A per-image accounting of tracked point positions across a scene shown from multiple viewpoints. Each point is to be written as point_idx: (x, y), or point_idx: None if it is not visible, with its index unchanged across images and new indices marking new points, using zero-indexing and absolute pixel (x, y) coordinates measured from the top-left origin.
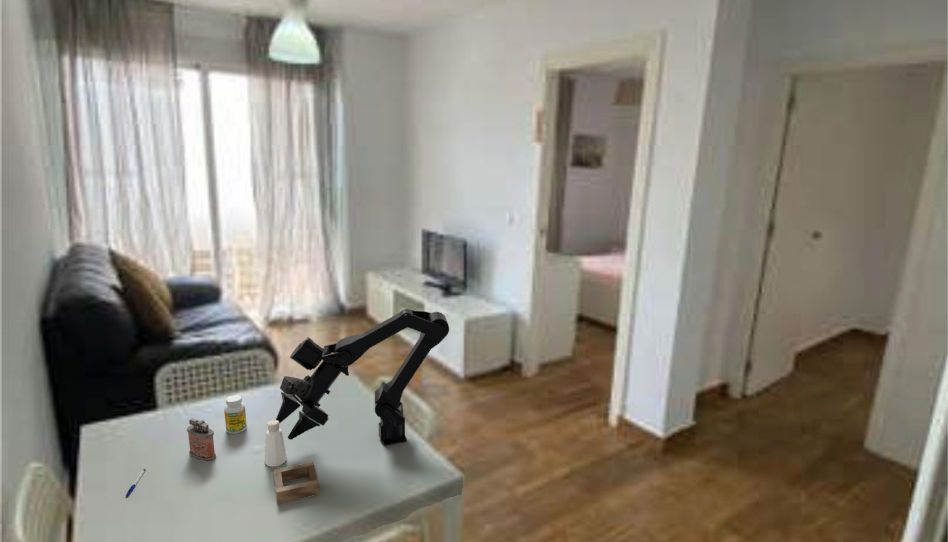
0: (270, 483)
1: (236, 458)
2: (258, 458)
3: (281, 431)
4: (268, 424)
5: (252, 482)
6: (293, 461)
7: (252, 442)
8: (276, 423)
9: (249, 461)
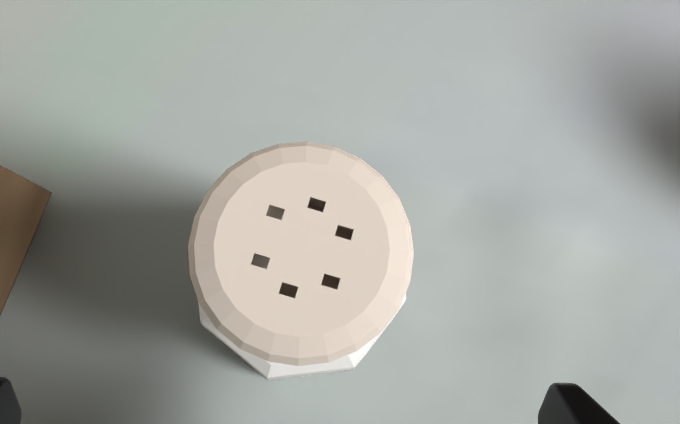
0: (41, 157)
1: (506, 79)
2: (415, 200)
3: (256, 370)
4: (289, 148)
5: (143, 66)
6: (200, 410)
7: (663, 240)
8: (212, 281)
9: (414, 136)
